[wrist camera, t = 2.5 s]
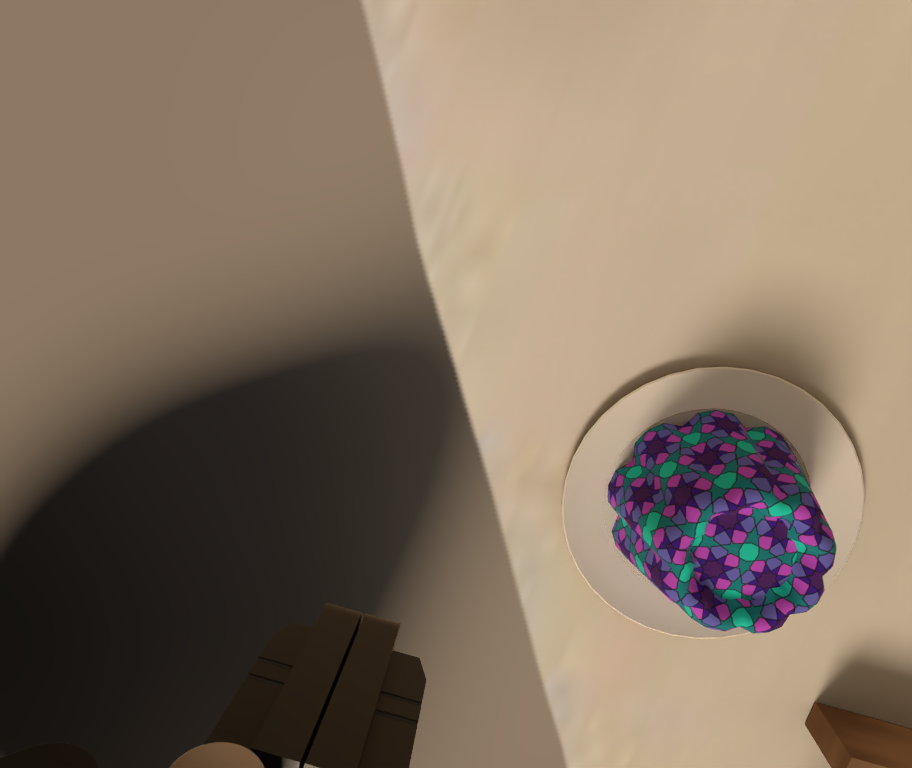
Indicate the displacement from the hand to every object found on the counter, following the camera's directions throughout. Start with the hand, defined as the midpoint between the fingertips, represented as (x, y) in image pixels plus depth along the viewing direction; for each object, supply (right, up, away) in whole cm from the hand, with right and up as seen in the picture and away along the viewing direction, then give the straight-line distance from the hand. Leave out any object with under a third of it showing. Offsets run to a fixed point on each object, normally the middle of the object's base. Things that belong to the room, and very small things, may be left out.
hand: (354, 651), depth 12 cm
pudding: (+13, 0, +14) cm, 19 cm away
